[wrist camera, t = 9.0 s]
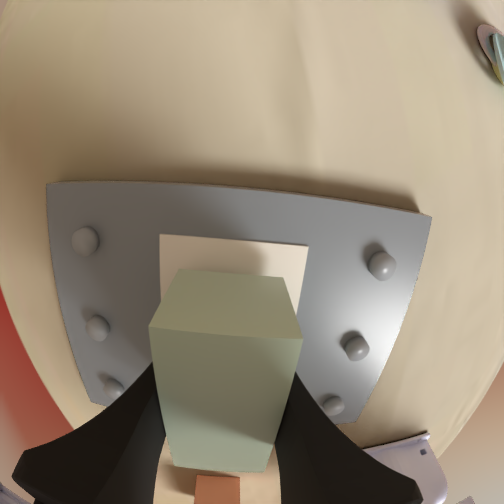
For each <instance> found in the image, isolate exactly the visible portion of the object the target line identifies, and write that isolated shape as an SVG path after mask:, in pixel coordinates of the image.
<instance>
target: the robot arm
mask: <svg viewBox="0 0 504 504" xmlns="http://www.w3.org/2000/svg"><path fill="white" fill-rule="evenodd" d="M165 437H166V431H165V427H164V422H163V417H162V413H161V408H160V402H159V397H158V392H157V386H156V380H155V374H154V367H153V361H152V362H151V363H150V365H149V366H148V367H147V368H146V369H145V371H144V372H143V373H142V374H141V375H140V376H139V377H138V378H137V379H136V381H135V382H134V383H133V384H132V385H131V386H130V387H129V388H128V389H127V390H126V391H125V392H124V393H123V394H122V395H121V396H119V397H118V398H117V399H116V400H115V401H114V402H113V403H112V404H111V405H110V406H108V407H107V408H106V409H105V410H103V411H102V412H101V413H100V414H98V415H97V416H95V417H94V418H93V419H91V420H90V421H88V422H87V423H85V424H84V425H82V426H80V427H79V428H77V429H75V430H74V431H72V432H70V433H68V434H66V435H64V436H62V437H60V438H58V439H56V440H54V441H51V442H49V443H47V444H44V445H40V446H38V447H35V448H31V449H28V450H25V451H24V452H23V454H22V455H21V457H20V459H19V461H18V463H17V465H16V467H15V469H14V472H13V474H12V478H13V480H14V481H15V482H16V483H17V484H18V485H19V486H20V487H22V488H23V489H24V490H25V491H26V492H28V493H29V494H30V495H31V496H33V497H34V498H35V501H34V504H153V498H154V489H155V481H156V474H157V467H158V462H159V458H160V454H161V451H162V447H163V444H164V440H165ZM429 437H430V433H425V434H422V435H419V436H415V437H412V438H409V439H405V440H401V441H398V442H394V443H390V444H385V445H381V446H377V447H372V448H367V449H361V448H359V447H358V446H357V445H356V444H355V443H353V442H352V441H351V440H350V439H349V438H348V437H347V436H346V435H345V434H344V433H342V432H341V431H340V430H339V429H338V427H337V426H336V425H335V424H334V423H333V422H332V421H331V420H330V419H329V418H328V416H327V415H326V414H325V413H324V412H323V410H322V409H321V408H320V407H319V405H318V404H317V403H316V401H315V400H314V399H313V397H312V396H311V394H310V393H309V392H308V390H307V389H306V387H305V386H304V384H303V382H302V381H301V379H300V378H299V376H298V374H297V373H296V371H295V374H294V378H293V382H292V385H291V389H290V392H289V396H288V399H287V403H286V406H285V410H284V413H283V416H282V420H281V423H280V426H279V429H278V433H277V436H276V439H275V442H274V443H275V448H276V454H277V459H278V465H279V472H280V485H281V504H442V503H443V502H444V500H445V498H446V496H447V490H448V486H447V480H446V477H445V474H444V472H443V470H442V468H441V466H440V464H439V463H438V460H437V458H436V457H435V455H434V453H433V451H432V449H431V447H430V445H429V443H428V441H427V439H428V438H429ZM0 504H31V503H29V502H27V501H26V500H24V499H22V498H21V497H19V496H18V495H16V494H15V493H13V492H12V491H10V490H9V489H7V488H6V487H5V486H3V485H2V484H1V483H0ZM457 504H475V503H474V501H473V499H472V497H471V496H469V497H467V498H466V499H464V500H462V501H460V502H459V503H457Z"/></svg>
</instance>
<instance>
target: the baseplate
mask: <svg viewBox="0 0 504 504" xmlns="http://www.w3.org/2000/svg"><path fill="white" fill-rule="evenodd" d="M46 195H47V217H48V231H49V241H50V250H51V257H52V264H53V271H54V277H55V283H56V288H57V293H58V298H59V303H60V307H61V311H62V316H63V320H64V324H65V327H66V331H67V335H68V338H69V342H70V345H71V348H72V352H73V355H74V358H75V361H76V364H77V367H78V370H79V372H80V375H81V378H82V381H83V383H84V386H85V389H86V391H87V394H88V396H89V398H90V401H91V402H93V403H96V404H100V405H103V406H107V407H108V406H110V405H111V404H112V403H113V402H114V401H115V400H116V399H117V398H118V397H119V396H121V395H122V394H123V393H124V392H125V391H126V390H127V389H128V388H129V387H130V386H131V385H132V384H133V383H134V382H135V381H136V379H137V378H138V377H139V376H140V375H141V374H142V373H143V372H144V371H145V369H146V368H147V367H148V366H149V365H150V363H151V362H152V361H153V360H152V353H151V345H150V337H149V328H148V326H149V324H150V322H151V320H152V318H153V316H154V314H155V312H156V310H157V309H158V307H159V305H160V303H161V301H162V299H163V297H164V295H165V293H166V292H167V290H168V288H169V286H170V284H171V282H172V281H173V279H174V277H175V275H176V273H177V271H178V270H179V269H188V270H199V271H210V272H222V273H234V274H246V275H259V276H272V277H283V278H284V281H285V284H286V287H287V290H288V293H289V296H290V299H291V302H292V305H293V308H294V311H295V314H296V317H297V321H298V324H299V327H300V330H301V333H302V336H303V343H302V347H301V351H300V355H299V359H298V363H297V366H296V370H295V371H296V373H297V374H298V376H299V378H300V379H301V381H302V382H303V384H304V386H305V387H306V389H307V390H308V392H309V393H310V394H311V396H312V397H313V399H314V400H315V401H316V403H317V404H318V405H319V407H320V408H321V409H322V410H323V412H324V413H325V414H326V415H327V416H328V418H329V419H330V420H331V421H332V422H333V423H334V424H344V423H352V422H356V420H357V419H358V417H359V415H360V413H361V412H362V410H363V408H364V406H365V404H366V402H367V400H368V399H369V397H370V395H371V393H372V391H373V389H374V387H375V385H376V383H377V381H378V379H379V377H380V375H381V372H382V370H383V368H384V366H385V364H386V361H387V359H388V357H389V355H390V352H391V350H392V348H393V345H394V343H395V340H396V338H397V335H398V333H399V330H400V328H401V325H402V322H403V320H404V317H405V314H406V311H407V308H408V306H409V303H410V300H411V297H412V294H413V290H414V287H415V284H416V281H417V277H418V274H419V270H420V267H421V263H422V259H423V256H424V252H425V248H426V243H427V239H428V235H429V230H430V225H431V221H432V217H431V216H428V215H425V214H423V213H419V212H415V211H410V210H404V209H399V208H394V207H389V206H383V205H377V204H371V203H366V202H359V201H353V200H347V199H340V198H333V197H326V196H319V195H312V194H304V193H296V192H287V191H278V190H269V189H259V188H249V187H237V186H225V185H211V184H196V183H177V182H151V181H63V182H54V183H49V184H46Z"/></svg>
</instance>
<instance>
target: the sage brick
mask: <svg viewBox="0 0 504 504" xmlns="http://www.w3.org/2000/svg"><path fill="white" fill-rule="evenodd" d="M148 328H149V337H150V345H151V353H152V360H153V367H154V374H155V380H156V386H157V392H158V397H159V402H160V408H161V413H162V417H163V422H164V427H165V431H166V435H167V440H168V444H169V448H170V452H171V456H172V459H173V463H174V466H179V467H186V468H193V469H202V470H212V471H226V472H264V471H265V469H266V466H267V463H268V460H269V457H270V454H271V451H272V448H273V445H274V442H275V439H276V436H277V433H278V429H279V426H280V423H281V420H282V416H283V413H284V410H285V406H286V403H287V399H288V396H289V392H290V389H291V385H292V382H293V378H294V374H295V370H296V366H297V363H298V359H299V355H300V351H301V347H302V343H303V336H302V333H301V330H300V327H299V324H298V321H297V317H296V314H295V311H294V308H293V305H292V302H291V299H290V296H289V293H288V290H287V287H286V284H285V281H284V278H283V277H272V276H259V275H246V274H234V273H222V272H210V271H199V270H188V269H179V270H178V271H177V273H176V275H175V277H174V279H173V281H172V282H171V284H170V286H169V288H168V290H167V292H166V293H165V295H164V297H163V299H162V301H161V303H160V305H159V307H158V309H157V310H156V312H155V314H154V316H153V318H152V320H151V322H150V324H149V326H148Z"/></svg>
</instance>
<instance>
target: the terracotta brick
mask: <svg viewBox="0 0 504 504" xmlns="http://www.w3.org/2000/svg"><path fill="white" fill-rule="evenodd" d="M194 504H240V477H218V476H205V475H197V478H196V488H195V499H194Z"/></svg>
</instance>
